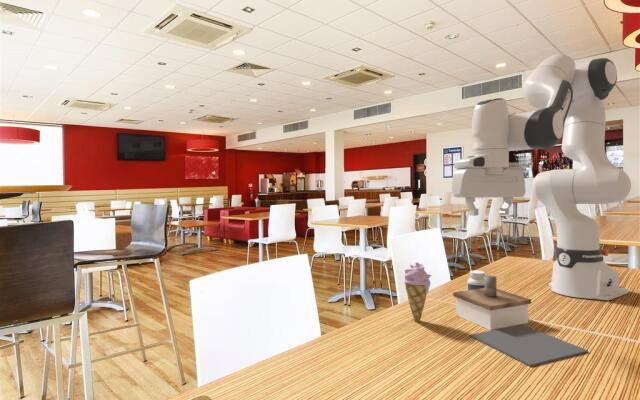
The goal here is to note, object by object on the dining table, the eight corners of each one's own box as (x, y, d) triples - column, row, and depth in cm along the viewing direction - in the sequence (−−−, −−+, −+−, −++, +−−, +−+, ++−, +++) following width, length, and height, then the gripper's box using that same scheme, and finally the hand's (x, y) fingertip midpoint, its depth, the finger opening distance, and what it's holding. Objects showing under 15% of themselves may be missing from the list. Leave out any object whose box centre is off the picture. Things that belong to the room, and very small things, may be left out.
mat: (522, 326, 94) (522, 324, 94) (588, 352, 79) (588, 350, 79) (470, 336, 88) (470, 334, 88) (530, 366, 73) (530, 364, 73)
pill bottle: (489, 308, 107) (489, 274, 107) (469, 307, 108) (469, 273, 108) (485, 302, 112) (485, 270, 112) (466, 302, 113) (465, 269, 113)
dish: (490, 308, 107) (490, 291, 107) (527, 322, 96) (527, 303, 95) (456, 314, 103) (455, 296, 102) (490, 330, 91) (490, 309, 91)
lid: (490, 290, 107) (490, 269, 107) (531, 303, 95) (530, 279, 95) (453, 296, 103) (453, 274, 102) (490, 310, 90) (490, 285, 90)
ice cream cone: (432, 318, 100) (431, 261, 100) (431, 326, 94) (430, 266, 94) (406, 316, 102) (405, 260, 102) (403, 324, 96) (403, 265, 96)
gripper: (513, 163, 105) (512, 213, 105) (448, 161, 99) (448, 215, 99) (531, 161, 99) (531, 215, 99) (464, 160, 93) (463, 216, 93)
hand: (489, 215), depth 99 cm, fingers open, 8 cm apart
